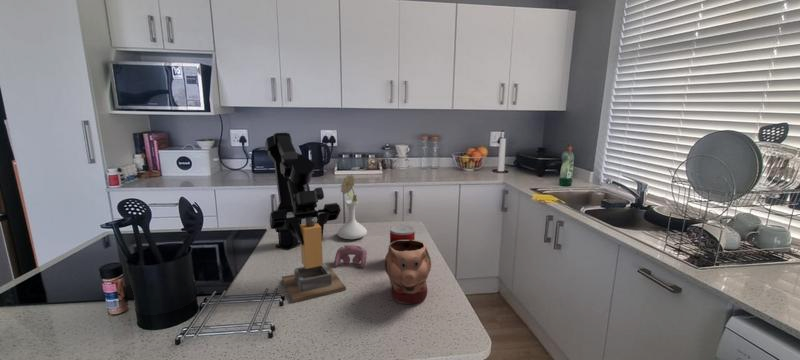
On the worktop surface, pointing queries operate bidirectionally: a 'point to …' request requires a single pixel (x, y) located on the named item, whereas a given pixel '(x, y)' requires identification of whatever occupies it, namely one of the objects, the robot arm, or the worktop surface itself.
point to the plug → (311, 244)
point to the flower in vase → (351, 212)
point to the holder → (312, 283)
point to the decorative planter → (408, 270)
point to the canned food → (402, 233)
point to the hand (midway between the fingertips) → (312, 242)
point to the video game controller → (351, 250)
